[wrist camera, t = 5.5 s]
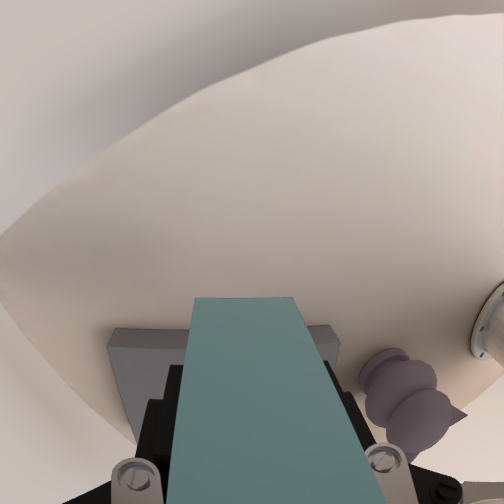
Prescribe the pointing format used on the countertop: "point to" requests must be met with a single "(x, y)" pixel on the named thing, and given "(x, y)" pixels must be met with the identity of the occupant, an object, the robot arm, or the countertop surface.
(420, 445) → the cat figurine
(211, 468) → the plug
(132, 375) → the socket
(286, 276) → the countertop surface
